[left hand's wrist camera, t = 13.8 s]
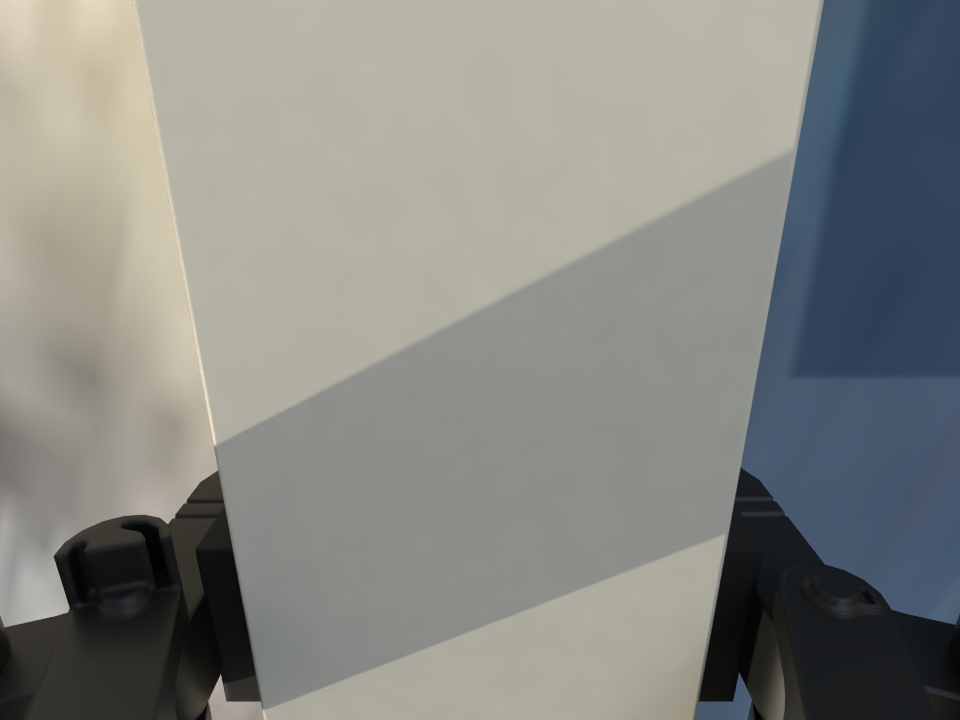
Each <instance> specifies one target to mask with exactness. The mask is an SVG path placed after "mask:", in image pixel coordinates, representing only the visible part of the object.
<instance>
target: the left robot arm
mask: <svg viewBox="0 0 960 720" xmlns="http://www.w3.org/2000/svg"><path fill="white" fill-rule="evenodd" d="M175 516H176V517H175V519H172V520H171V521H170V523H169V524H167V523H165V522H164V521H163V520H162V519H160V518H157V517H153V516H148V515H133V516H123V517H119V518H115V519H111V520H107V521H103V522H101V523H98V524H96V525H94V526H92V527H89V528H87V529H85V530H83V531H81V532H79V533H78V534H77V535H75V536H74V537H72V538H71V539H69V540H68V541H66V542H65V543H64V544H63V545H62V547H61V548H60V549H59V550H58V551H57V553H56V554H55V555H54V559H55V562H56V565H57V568H58V572H59V575H60V578H61V581H62V584H63V588H64V591H65V594H66V597H67V600H68V604H69V607H70V609H69V612H68V613H65V614H62V615H58V616H54V617H50V618H45V619H41V620H36V621H32V622H27V623H23V624H19V625H14V626H10V627H5V628H4V625H3V622H2V619H1V617H0V720H212V717H211V711H210V707H209V702H208V700H209V698H210V696H211V694H212V692H213V689H214V687H215V685H216V683H217V681H218V679H219V677H220V674H221V677H222V682H223V686H224V691H225V696H226V701H261V699H260V694H259V689H258V683H257V678H256V672H255V667H254V661H253V656H252V650H251V645H250V640H249V634H248V629H247V623H246V618H245V612H244V607H243V602H242V596H241V591H240V585H239V580H238V574H237V569H236V563H235V558H234V553H233V547H232V542H231V536H230V531H229V525H228V520H227V514H226V509H225V504H224V498H223V493H222V487H221V482H220V476H219V471H217V472H215V473H214V474H212V475H211V476H209V477H208V478H206V479H205V480H203V481H202V482H200V484H199V485H198V486H197V488H196V489H195V490H194V491H193V493H192V494H191V495H190V497H189V498H188V499H187V503H186V504H183V506H182V507H181V508H180V510H179V511H178V512H177V513H176V515H175ZM739 672H740V674H741V677H742V679H743V681H744V683H745V685H746V687H747V689H748V691H749V694H750V696H751V698H752V702H751V707H750V711H749V716H748V720H960V615H959V618H958V620H957V623H956V625H953V624H949V623H944V622H940V621H935V620H931V619H926V618H922V617H917V616H913V615H908V614H904V613H901V612H897V611H894V610H891V608H890V606H889V605H888V604H887V602H886V601H885V599H884V598H883V596H882V595H881V594H880V593H879V592H878V591H877V590H876V589H874V588H873V587H872V586H871V585H869V584H868V583H867V582H866V581H864V580H863V579H861V578H859V577H857V576H855V575H853V574H851V573H849V572H847V571H845V570H842V569H838V568H835V567H831V566H828V565H825V564H824V563H823V562H822V560H821V559H820V558H819V556H818V555H817V554H816V553H815V551H814V550H813V549H812V547H811V546H810V545H809V544H808V542H807V541H806V540H805V538H804V537H803V536H802V535H801V533H800V532H799V531H798V529H797V528H796V527H795V526H794V524H793V523H792V522H791V520H790V519H789V518H788V517H787V516H785V515H784V511H783V510H782V509H781V507H780V506H779V505H778V504H777V502H776V501H773V497H772V496H771V495H770V493H769V492H768V491H767V489H766V488H765V487H764V486H763V484H762V483H761V482H760V480H758V479H757V478H755V477H754V476H752V475H751V474H749V473H748V472H746V471H745V470H743V469H742V468H740V472H739V478H738V484H737V489H736V495H735V500H734V506H733V512H732V517H731V523H730V528H729V534H728V540H727V545H726V551H725V556H724V562H723V568H722V573H721V579H720V584H719V590H718V596H717V601H716V607H715V612H714V618H713V624H712V629H711V635H710V640H709V646H708V652H707V657H706V663H705V668H704V674H703V680H702V685H701V691H700V696H699V701H733V699H734V694H735V689H736V684H737V679H738V675H739Z"/></svg>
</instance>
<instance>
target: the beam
mask: <svg viewBox="0 0 960 720" xmlns="http://www.w3.org/2000/svg"><path fill="white" fill-rule="evenodd" d="M823 2H824V0H132V3H133V9H134V14H135V20H136V25H137V30H138V36H139V41H140V47H141V52H142V58H143V63H144V69H145V74H146V79H147V85H148V90H149V96H150V101H151V107H152V112H153V117H154V123H155V128H156V134H157V139H158V145H159V150H160V156H161V161H162V166H163V172H164V177H165V183H166V188H167V194H168V199H169V204H170V210H171V215H172V221H173V226H174V232H175V237H176V243H177V248H178V253H179V259H180V264H181V270H182V275H183V281H184V286H185V292H186V297H187V302H188V308H189V313H190V319H191V324H192V330H193V335H194V340H195V346H196V351H197V357H198V362H199V368H200V373H201V379H202V384H203V389H204V395H205V400H206V406H207V411H208V417H209V422H210V427H211V433H212V438H213V444H214V449H215V455H216V460H217V466H218V471H219V476H220V482H221V487H222V493H223V498H224V504H225V509H226V514H227V520H228V525H229V531H230V536H231V542H232V547H233V553H234V558H235V563H236V569H237V574H238V580H239V585H240V591H241V596H242V602H243V607H244V612H245V618H246V623H247V629H248V634H249V640H250V645H251V650H252V656H253V661H254V667H255V672H256V678H257V683H258V689H259V694H260V699H261V705H262V710H263V716H264V720H695V719H696V713H697V708H698V702H699V696H700V691H701V685H702V680H703V674H704V668H705V663H706V657H707V652H708V646H709V640H710V635H711V629H712V624H713V618H714V612H715V607H716V601H717V596H718V590H719V584H720V579H721V573H722V568H723V562H724V556H725V551H726V545H727V540H728V534H729V528H730V523H731V517H732V512H733V506H734V500H735V495H736V489H737V484H738V478H739V472H740V467H741V461H742V455H743V450H744V444H745V439H746V433H747V427H748V422H749V416H750V411H751V405H752V399H753V394H754V388H755V383H756V377H757V371H758V366H759V360H760V355H761V349H762V343H763V338H764V332H765V327H766V321H767V315H768V310H769V304H770V299H771V293H772V287H773V282H774V276H775V271H776V265H777V259H778V254H779V248H780V243H781V237H782V231H783V226H784V220H785V215H786V209H787V203H788V198H789V192H790V187H791V181H792V175H793V170H794V164H795V159H796V153H797V147H798V142H799V136H800V130H801V125H802V119H803V114H804V108H805V102H806V97H807V91H808V86H809V80H810V74H811V69H812V63H813V58H814V52H815V46H816V41H817V35H818V30H819V24H820V18H821V13H822V7H823Z"/></svg>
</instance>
